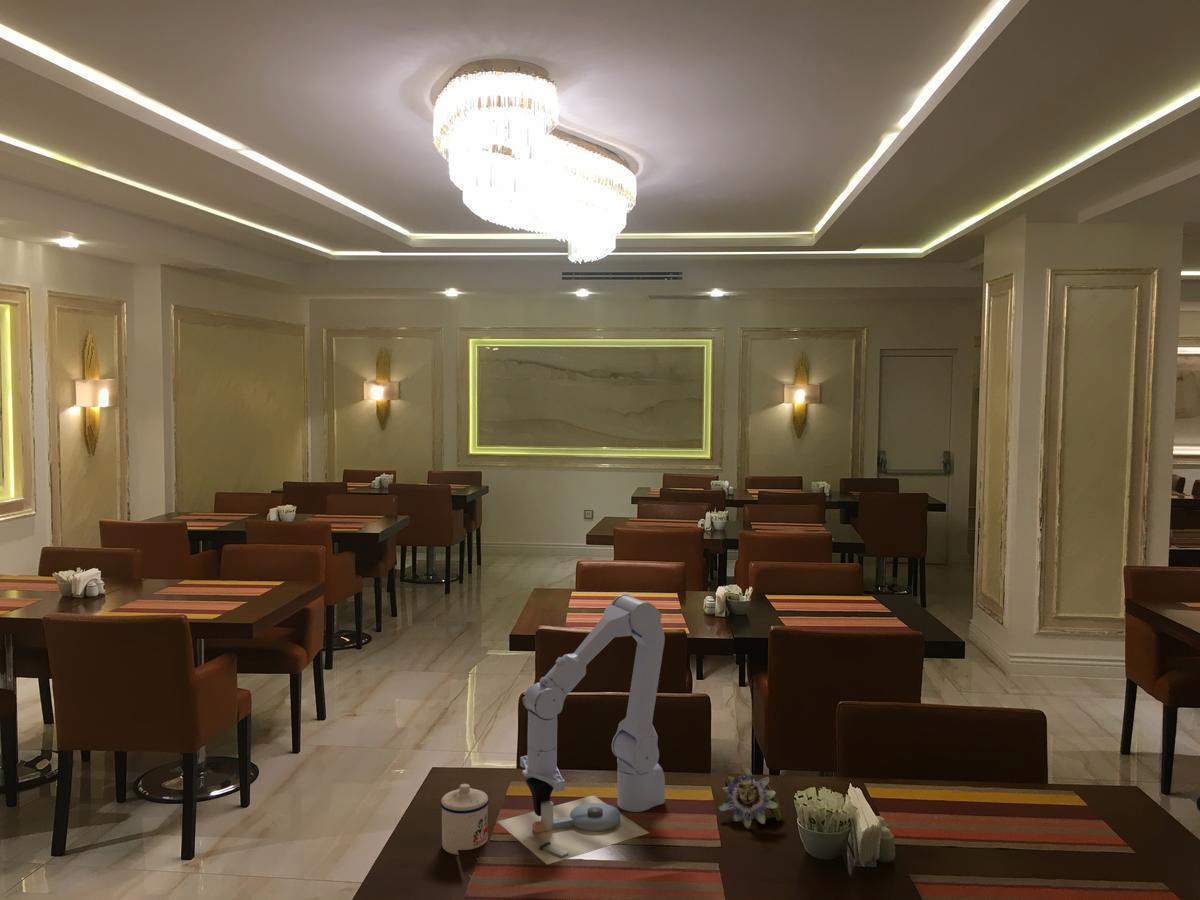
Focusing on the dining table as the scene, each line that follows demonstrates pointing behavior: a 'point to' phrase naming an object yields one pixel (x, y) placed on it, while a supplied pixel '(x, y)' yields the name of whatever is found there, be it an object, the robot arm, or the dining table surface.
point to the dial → (579, 818)
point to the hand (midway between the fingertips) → (541, 814)
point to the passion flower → (749, 799)
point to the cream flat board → (567, 833)
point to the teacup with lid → (464, 819)
